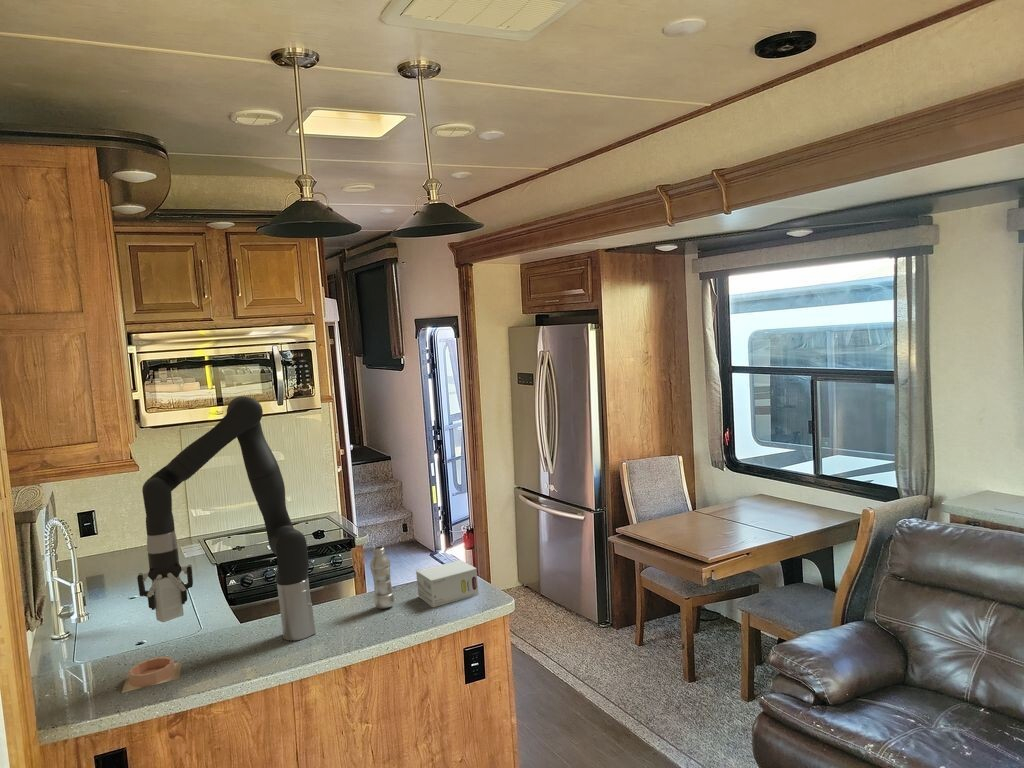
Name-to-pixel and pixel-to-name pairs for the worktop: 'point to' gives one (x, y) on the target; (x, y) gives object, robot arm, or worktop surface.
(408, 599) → the worktop surface
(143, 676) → the terracotta bowl
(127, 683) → the cork mat
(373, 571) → the plastic bottle
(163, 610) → the skincare box
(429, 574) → the supplement box
